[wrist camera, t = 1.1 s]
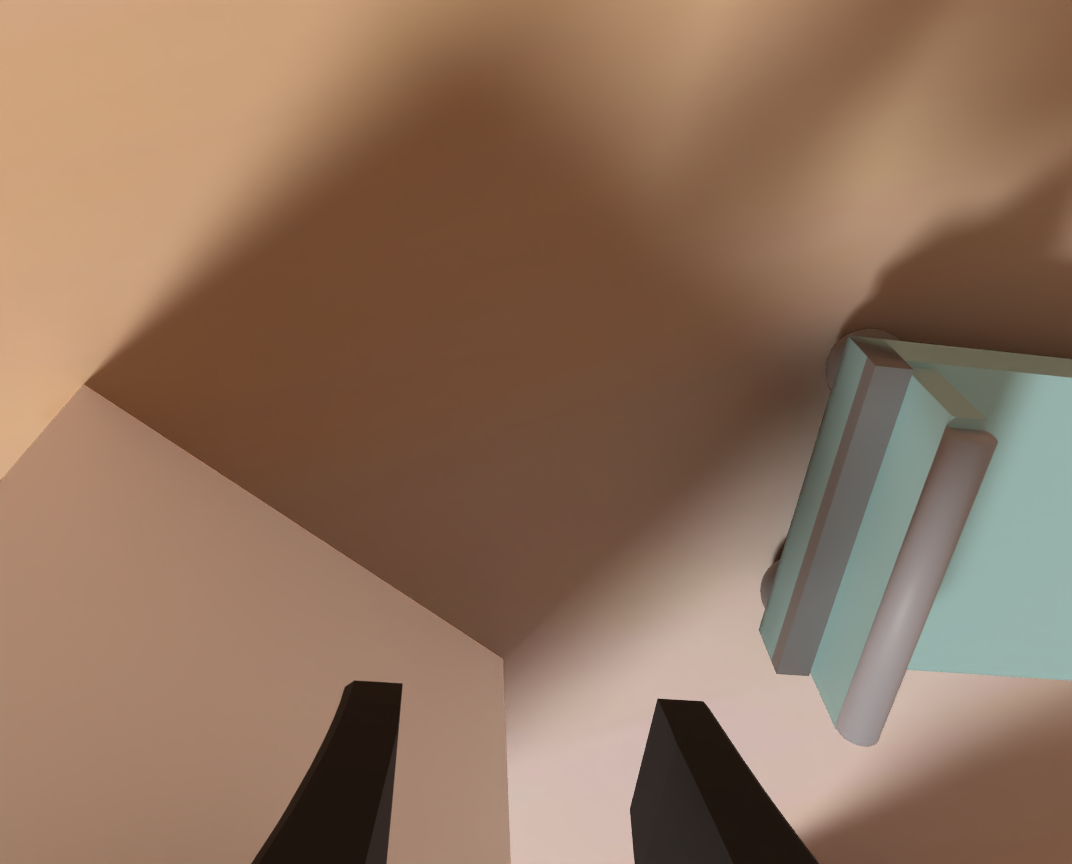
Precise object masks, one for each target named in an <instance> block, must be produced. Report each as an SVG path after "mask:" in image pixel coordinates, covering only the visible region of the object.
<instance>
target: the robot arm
mask: <svg viewBox="0 0 1072 864" xmlns="http://www.w3.org/2000/svg"><path fill="white" fill-rule="evenodd" d="M402 686H403V683H389V682H372V681H356V680H354V681H353V682H351V683H350V684H348V685H347V686H345V688H344V691H343V694H342V697H341V701H340V703H339V706H338V708H337V711H336V713H335V716H334V718H333V721H332V723H331V725H330V728H329V730H328V732H327V734H326V736H325V738H324V740H323V742H322V744H321V746H320V748H319V750H318V752H317V754H316V756H315V758H314V760H313V762H312V764H311V766H310V768H309V770H308V771H307V773H306V775H305V777H304V778H303V780H302V782H301V784H300V785H299V787H298V789H297V791H296V792H295V794H294V796H293V798H292V799H291V801H290V803H289V805H288V806H287V808H286V810H285V812H284V813H283V815H282V817H281V818H280V820H279V822H278V823H277V825H276V826H275V828H274V829H273V831H272V832H271V834H270V835H269V837H268V839H267V840H266V842H265V843H264V845H263V846H262V848H261V849H260V851H259V852H258V854H257V855H256V857H255V858H254V860H253V861H252V863H251V864H387V854H388V843H389V833H390V822H391V812H392V801H393V790H394V778H395V767H396V755H397V744H398V732H399V721H400V709H401V698H402ZM630 815H631V827H632V838H633V850H634V860H635V864H819V863H818V861H817V860H816V859H815V858H814V856H813V855H812V854H811V852H810V851H809V850H808V849H807V847H806V846H805V845H804V843H803V842H802V841H801V839H800V838H799V837H798V835H797V834H796V833H795V831H794V830H793V829H792V827H791V826H790V825H789V823H788V822H787V821H786V819H785V818H784V816H783V815H782V814H781V812H780V811H779V810H778V808H777V807H776V806H775V804H774V803H773V802H772V800H771V799H770V797H769V796H768V795H767V793H766V792H765V790H764V789H763V787H762V786H761V785H760V783H759V782H758V780H757V779H756V777H755V776H754V774H753V773H752V772H751V770H750V769H749V767H748V766H747V764H746V763H745V761H744V760H743V759H742V757H741V756H740V754H739V753H738V751H737V750H736V748H735V747H734V745H733V744H732V742H731V741H730V739H729V738H728V736H727V735H726V733H725V732H724V730H723V729H722V727H721V726H720V724H719V723H718V721H717V720H716V718H715V717H714V715H713V714H712V712H711V711H710V709H709V708H708V707H707V705H706V704H705V703H704V702H703V701H687V700H670V699H658V700H657V704H656V708H655V712H654V715H653V719H652V723H651V727H650V731H649V735H648V739H647V743H646V747H645V751H644V755H643V759H642V763H641V767H640V771H639V775H638V779H637V783H636V787H635V791H634V795H633V799H632V803H631V807H630Z"/></svg>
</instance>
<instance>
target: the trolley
mask: <svg viewBox="0 0 1072 864" xmlns="http://www.w3.org/2000/svg"><path fill="white" fill-rule="evenodd" d="M826 378H827V382H828V385H829V387H830V389H831V393H830V396H829V399H828V403H827V406H826V409H825V413H824V416H823V419H822V423H821V426H820V429H819V433H818V436H817V439H816V442H815V446H814V449H813V452H812V456H811V459H810V462H809V466H808V469H807V472H806V476H805V479H804V482H803V486H802V489H801V492H800V495H799V499H798V502H797V505H796V509H795V512H794V515H793V519H792V522H791V525H790V529H789V532H788V535H787V538H786V542H785V545H784V548H783V552H782V555H781V558H780V560H778V561H776V562H775V563H774V564H772V565H771V566H770V567H769V569H768V570H767V571H766V573H765V575H764V577H763V579H762V582H761V590H760V592H761V599H762V603H763V605H764V607H765V611H764V615H763V618H762V621H761V625H760V628H759V631H760V634H761V636H762V639H763V641H764V644H765V646H766V649H767V651H768V654H769V656H770V659H771V661H772V664H773V666H774V669H775V671H776V674H786V675H802V676H809V674H810V673H811V675H812V677H813V680H814V682H815V684H816V686H817V689H818V691H819V693H820V695H821V697H822V700H823V702H824V704H825V706H826V709H827V711H828V713H829V715H830V718H831V720H832V722H833V724H834V726H835V729H836V730H838V732H839V733H840V734H841V735H842V736H843V737H844V738H845V739H846V740H848V741H849V742H851V743H853V744H856V745H859V746H872V745H875V744H876V743H877V742H878V740H879V737H880V735H881V732H882V730H883V727H884V725H885V722H886V720H887V717H888V715H889V712H890V710H891V707H892V705H893V702H894V700H895V697H896V695H897V692H898V690H899V688H900V685H901V683H902V680H903V678H904V675H905V673H906V670H919V671H934V672H949V673H964V674H980V675H995V676H1010V677H1025V678H1040V679H1056V680H1071V681H1072V359H1067V358H1057V357H1048V356H1038V355H1029V354H1019V353H1010V352H1000V351H991V350H981V349H972V348H962V347H953V346H944V345H934V344H925V343H915V342H906V341H900V340H899V339H898V338H897V337H895V336H894V335H892V334H890V333H888V332H886V331H883V330H879V329H861V330H857V331H854V332H851V333H849V334H847V335H846V336H844V337H843V338H841V339H840V340H839V341H838V342H837V343H836V344H835V345H834V347H833V348H832V350H831V352H830V354H829V356H828V359H827V362H826Z"/></svg>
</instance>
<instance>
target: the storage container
mask: <svg viewBox="0 0 1072 864" xmlns="http://www.w3.org/2000/svg"><path fill="white" fill-rule="evenodd" d="M354 680H356V681H372V682H389V683H403V686H402V698H401V709H400V721H399V732H398V744H397V755H396V767H395V778H394V790H393V801H392V812H391V822H390V833H389V843H388V854H387V864H511V859H510V832H509V805H508V777H507V750H506V723H505V695H504V668H503V659H502V658H501V657H499V656H498V655H496V654H495V653H493V652H492V651H490V650H489V649H487V648H486V647H484V646H483V645H481V644H480V643H478V642H476V641H475V640H473V639H472V638H470V637H469V636H467V635H466V634H464V633H463V632H461V631H460V630H458V629H457V628H455V627H454V626H452V625H451V624H449V623H447V622H446V621H444V620H443V619H441V618H440V617H438V616H437V615H435V614H434V613H432V612H431V611H429V610H428V609H426V608H425V607H423V606H422V605H420V604H418V603H417V602H415V601H414V600H412V599H411V598H409V597H408V596H406V595H405V594H403V593H402V592H400V591H399V590H397V589H396V588H394V587H393V586H391V585H389V584H388V583H386V582H385V581H383V580H382V579H380V578H379V577H377V576H376V575H374V574H373V573H371V572H370V571H368V570H367V569H365V568H364V567H362V566H360V565H359V564H357V563H356V562H354V561H353V560H351V559H350V558H348V557H347V556H345V555H344V554H342V553H341V552H339V551H338V550H336V549H335V548H333V547H331V546H330V545H328V544H327V543H325V542H324V541H322V540H321V539H319V538H318V537H316V536H315V535H313V534H312V533H310V532H309V531H307V530H306V529H304V528H302V527H301V526H299V525H298V524H296V523H295V522H293V521H292V520H290V519H289V518H287V517H286V516H284V515H283V514H281V513H280V512H278V511H277V510H275V509H273V508H272V507H270V506H269V505H267V504H266V503H264V502H263V501H261V500H260V499H258V498H257V497H255V496H254V495H252V494H251V493H249V492H248V491H246V490H245V489H243V488H241V487H240V486H238V485H237V484H235V483H234V482H232V481H231V480H229V479H228V478H226V477H225V476H223V475H222V474H220V473H219V472H217V471H216V470H214V469H212V468H211V467H209V466H208V465H206V464H205V463H203V462H202V461H200V460H199V459H197V458H196V457H194V456H193V455H191V454H190V453H188V452H187V451H185V450H183V449H182V448H180V447H179V446H177V445H176V444H174V443H173V442H171V441H170V440H168V439H167V438H165V437H164V436H162V435H161V434H159V433H158V432H156V431H154V430H153V429H151V428H150V427H148V426H147V425H145V424H144V423H142V422H141V421H139V420H138V419H136V418H135V417H133V416H132V415H130V414H129V413H127V412H125V411H124V410H122V409H121V408H119V407H118V406H116V405H115V404H113V403H112V402H110V401H109V400H107V399H106V398H104V397H103V396H101V395H100V394H98V393H96V392H95V391H93V390H92V389H90V388H89V387H87V386H86V385H84V384H83V385H82V387H81V388H80V389H79V390H78V391H77V392H76V394H75V395H74V396H73V397H72V398H71V399H70V400H69V402H68V403H67V404H66V405H65V406H64V407H63V409H62V410H61V411H60V412H59V413H58V414H57V416H56V417H55V418H54V419H53V420H52V421H51V423H50V424H49V425H48V426H47V427H46V428H45V429H44V431H43V432H42V433H41V434H40V435H39V436H38V438H37V439H36V440H35V441H34V442H33V443H32V445H31V446H30V447H29V448H28V449H27V450H26V451H25V453H24V454H23V455H22V456H21V457H20V458H19V460H18V461H17V462H16V463H15V464H14V465H13V467H12V468H11V469H10V470H9V471H8V472H7V473H6V475H5V476H4V477H3V478H2V479H1V480H0V864H251V863H252V861H253V860H254V858H255V857H256V855H257V854H258V852H259V851H260V849H261V848H262V846H263V845H264V843H265V842H266V840H267V839H268V837H269V835H270V834H271V832H272V831H273V829H274V828H275V826H276V825H277V823H278V822H279V820H280V818H281V817H282V815H283V813H284V812H285V810H286V808H287V806H288V805H289V803H290V801H291V799H292V798H293V796H294V794H295V792H296V791H297V789H298V787H299V785H300V784H301V782H302V780H303V778H304V777H305V775H306V773H307V771H308V770H309V768H310V766H311V764H312V762H313V760H314V758H315V756H316V754H317V752H318V750H319V748H320V746H321V744H322V742H323V740H324V738H325V736H326V734H327V732H328V730H329V728H330V725H331V723H332V721H333V718H334V716H335V713H336V711H337V708H338V706H339V703H340V701H341V697H342V694H343V691H344V688H345V686H347V685H348V684H350V683H351V682H353V681H354Z"/></svg>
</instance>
